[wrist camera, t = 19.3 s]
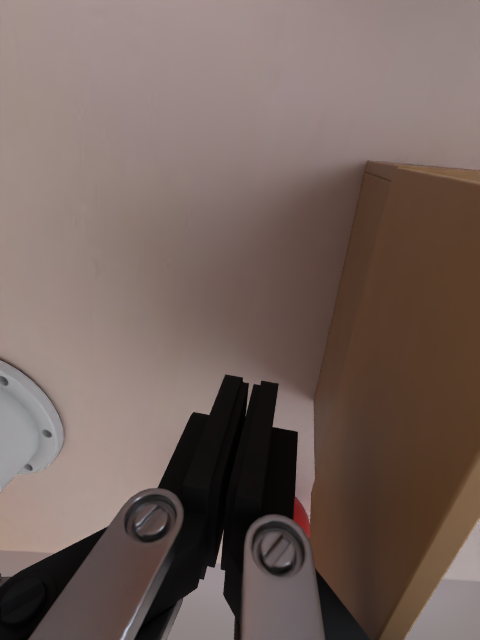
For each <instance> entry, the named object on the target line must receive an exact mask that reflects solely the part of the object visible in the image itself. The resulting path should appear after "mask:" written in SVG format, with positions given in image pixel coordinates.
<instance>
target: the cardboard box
mask: <svg viewBox="0 0 480 640" xmlns="http://www.w3.org/2000/svg"><path fill="white" fill-rule="evenodd" d="M396 167H397V168H408V169H413V170H419V171H424V172H429V173H435V174H440V175H446V176H451V177H457V178H462V179H468V180H473V181H479V182H480V170H469V169H458V168H446V167H434V166H423V165H411V164H400V163H388V162H377V161H367V162H366V167H365V171H364V176H363V180H362V185H361V189H360V194H359V198H358V203H357V207H356V212H355V217H354V221H353V226H352V230H351V235H350V239H349V244H348V248H347V253H346V257H345V262H344V266H343V271H342V275H341V280H340V285H339V289H338V294H337V298H336V303H335V307H334V312H333V316H332V321H331V325H330V330H329V334H328V339H327V343H326V348H325V352H324V357H323V362H322V366H321V371H320V375H319V380H318V384H317V389H316V393H315V398H314V454H315V477H316V473H317V469H318V465H319V461H320V457H321V453H322V449H323V445H324V441H325V437H326V434H327V430H328V426H329V422H330V418H331V414H332V410H333V406H334V402H335V398H336V395H337V391H338V387H339V383H340V379H341V375H342V371H343V367H344V363H345V359H346V355H347V352H348V348H349V344H350V340H351V336H352V332H353V328H354V324H355V320H356V316H357V313H358V309H359V305H360V301H361V297H362V293H363V289H364V285H365V281H366V277H367V273H368V270H369V266H370V262H371V258H372V254H373V250H374V246H375V242H376V238H377V234H378V231H379V227H380V223H381V219H382V215H383V211H384V207H385V203H386V199H387V195H388V191H389V188H390V184H391V180H392V176H393V172H394V169H395V168H396Z"/></svg>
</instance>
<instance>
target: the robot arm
mask: <svg viewBox="0 0 480 640" xmlns="http://www.w3.org/2000/svg"><path fill="white" fill-rule="evenodd" d="M278 385H279V384H278V383H272V382H266V381H261V384H260V385H256V384H254V385H253V389H252V393H251V397H250V401H249V405H248V409H247V413H246V407H247V397H248V387H249V383H244V382H243V377H237V376H231V375H225V377H224V379H223V382H222V384H221V387H220V389H219V392H218V394H217V397H216V400H215V402H214V405H213V407H212V410H211V412H210V415H206V414H201V413H196V412H193V413H192V415H191V416H190V418H189V421H188V423H187V425H186V427H185V429H184V431H183V434H182V436H181V438H180V440H179V442H178V445H177V447H176V449H175V451H174V453H173V455H172V458H171V460H170V462H169V464H168V466H167V469H166V471H165V473H164V475H163V477H162V479H161V482H160V484H159V486H158V488H151V489H147V490H144V491H141V492H139V493H137V494H136V495H134V496H132V497H131V498H130V499H129V500H128V501H127V502H126V503H125V504H124V505H123V507H122V508H121V510H120V511H119V512H118V514H117V515H116V517H115V518H114V519H113V521H112V522H111V524H110V525H109V526H108V527H106V528H104V529H102V530H100V531H98V532H96V533H94V534H92V535H90V536H88V537H87V538H85V539H83V540H81V541H79V542H77V543H75V544H73V545H71V546H69V547H67V548H65V549H63V550H61V551H59V552H57V553H55V554H53V555H51V556H49V557H47V558H45V559H43V560H41V561H39V562H38V563H35V564H34V565H32V566H30V567H28V568H26V569H24V570H22V571H20V572H18V573H17V574H15V575H14V576H13V577H2V576H1V574H0V640H167V638H168V635H169V633H170V631H171V628H172V626H173V624H174V621H175V619H176V616H177V614H178V612H179V609H180V607H181V605H182V601H183V597H185V596H186V595H188V594H189V593H191V592H192V591H193V590H195V589H196V588H197V587H198V583H199V579H203V580H204V576H205V573H206V569H207V566H209V567H213V568H214V567H215V564H216V560H217V556H218V552H219V547H220V543H221V539H222V534H223V545H222V558H221V570H225V581H224V592H223V595H224V597H225V599H226V601H227V603H228V604H229V606H230V608H231V610H232V612H233V614H234V615H235V622H234V623H235V624H234V640H371V639H370V638H369V637H368V635H367V634H366V633H365V631H364V630H363V629H362V628H361V626H360V625H359V624H358V622H357V621H356V620H355V618H354V617H353V616H352V615H351V613H350V612H349V611H348V609H347V608H346V607H345V606H344V604H343V603H342V602H341V600H340V599H339V598H338V597H337V595H336V594H335V593H334V591H333V590H332V589H331V587H330V586H329V585H328V584H327V582H326V581H325V580H324V578H323V577H322V576H321V575H320V573H319V572H318V571H317V569H316V568H315V565H314V558H313V551H312V547H311V543H310V540H309V538H308V536H307V534H306V533H305V531H304V529H303V528H302V527H301V526H300V525H298V524H297V523H296V522H295V521H294V501H295V481H296V461H297V441H298V432H296V431H291V430H285V429H280V428H275V427H272V426H273V419H274V412H275V405H276V399H277V392H278ZM63 437H64V434H63V428H62V423H61V421H60V418H59V415H58V413H57V411H56V409H55V408H54V406H53V404H52V402H51V401H50V400H49V398H48V397H47V396H46V395H45V393H44V392H43V391H42V390H41V389H40V388H39V387H38V386H37V385H36V384H35V383H34V382H33V381H32V380H31V379H30V378H28V377H27V376H26V375H24V374H23V373H22V372H20V371H19V370H18V369H16V368H14V367H12V366H11V365H9V364H7V363H6V362H3V361H1V360H0V492H1V491H2V490H3V489H4V488H5V487H6V486H7V484H8V483H9V482H10V481H11V480H12V479H13V478H14V477H15V476H16V475H17V474H29V473H35V472H38V471H40V470H43V469H45V468H46V467H47V466H48V465H50V464H51V463H52V461H53V460H54V459H55V458H56V456H57V455H58V454H59V453H60V450H61V448H62V445H63ZM223 530H224V533H223Z"/></svg>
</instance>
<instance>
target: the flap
mask: <svg viewBox="0 0 480 640" xmlns="http://www.w3.org/2000/svg"><path fill="white" fill-rule="evenodd" d="M479 519H480V182H479V181H473V180H468V179H462V178H457V177H451V176H446V175H440V174H435V173H429V172H424V171H419V170H413V169H408V168H397V167H396V168H395V169H394V172H393V176H392V180H391V184H390V188H389V191H388V195H387V199H386V203H385V207H384V211H383V215H382V219H381V223H380V227H379V231H378V234H377V238H376V242H375V246H374V250H373V254H372V258H371V262H370V266H369V270H368V273H367V277H366V281H365V285H364V289H363V293H362V297H361V301H360V305H359V309H358V313H357V316H356V320H355V324H354V328H353V332H352V336H351V340H350V344H349V348H348V352H347V355H346V359H345V363H344V367H343V371H342V375H341V379H340V383H339V387H338V391H337V395H336V398H335V402H334V406H333V410H332V414H331V418H330V422H329V426H328V430H327V434H326V437H325V441H324V445H323V449H322V453H321V457H320V461H319V465H318V469H317V473H316V477H315V480H314V484H313V488H312V492H311V514H310V543H311V547H312V551H313V558H314V565H315V568H316V569H317V571H318V572H319V573H320V575H321V576H322V577H323V578H324V580H325V581H326V582H327V584H328V585H329V586H330V587H331V589H332V590H333V591H334V593H335V594H336V595H337V597H338V598H339V599H340V600H341V602H342V603H343V604H344V606H345V607H346V608H347V609H348V611H349V612H350V613H351V615H352V616H353V617H354V618H355V620H356V621H357V622H358V624H359V625H360V626H361V628H362V629H363V630H364V631H365V633H366V634H367V635H368V637H369V638H370V639H371V640H404V639H405V638H406V636H407V634H408V633H409V631H410V630H411V628H412V626H413V625H414V623H415V621H416V620H417V618H418V617H419V615H420V613H421V612H422V610H423V609H424V607H425V605H426V604H427V602H428V600H429V599H430V597H431V596H432V594H433V593H434V591H435V589H436V588H437V586H438V584H439V583H440V581H441V580H442V578H443V577H444V575H445V573H446V572H447V570H448V569H449V567H450V565H451V564H452V562H453V560H454V559H455V557H456V556H457V554H458V552H459V551H460V549H461V548H462V546H463V544H464V543H465V541H466V540H467V538H468V536H469V535H470V533H471V532H472V530H473V528H474V527H475V525H476V524H477V522H478V520H479Z"/></svg>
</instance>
